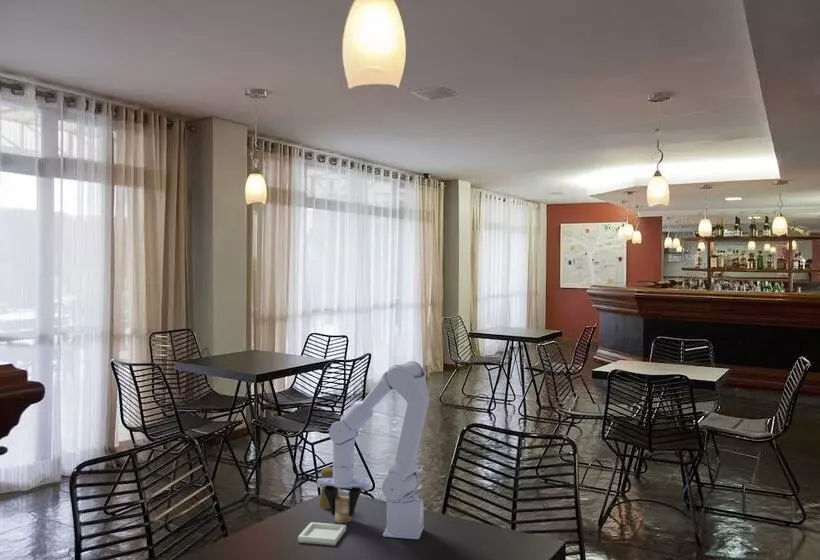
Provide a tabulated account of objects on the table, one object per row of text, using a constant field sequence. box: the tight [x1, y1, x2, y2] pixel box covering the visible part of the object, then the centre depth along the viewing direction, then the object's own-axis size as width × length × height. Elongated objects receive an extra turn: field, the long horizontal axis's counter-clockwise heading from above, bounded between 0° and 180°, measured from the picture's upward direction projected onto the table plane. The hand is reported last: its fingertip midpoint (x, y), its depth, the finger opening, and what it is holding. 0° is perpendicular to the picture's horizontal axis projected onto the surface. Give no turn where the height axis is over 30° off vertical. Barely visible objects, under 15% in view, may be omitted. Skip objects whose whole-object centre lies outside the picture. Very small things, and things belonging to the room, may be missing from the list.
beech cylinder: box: [334, 495, 352, 524], centre depth 173 cm, size 4×4×6 cm
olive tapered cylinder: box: [318, 466, 340, 510], centre depth 184 cm, size 6×6×11 cm
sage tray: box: [297, 521, 347, 547], centre depth 162 cm, size 10×10×2 cm
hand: (343, 514), depth 173 cm, fingers closed on beech cylinder, 4 cm apart
